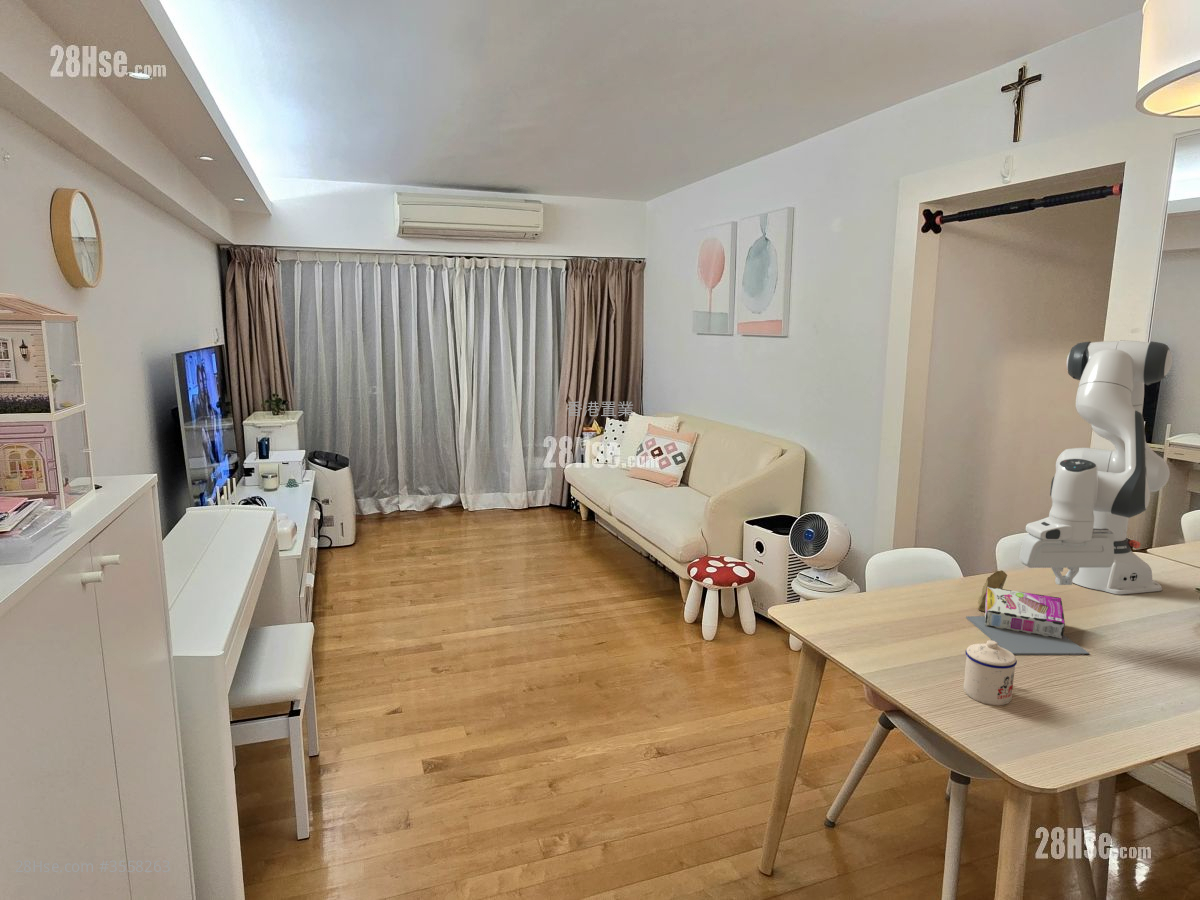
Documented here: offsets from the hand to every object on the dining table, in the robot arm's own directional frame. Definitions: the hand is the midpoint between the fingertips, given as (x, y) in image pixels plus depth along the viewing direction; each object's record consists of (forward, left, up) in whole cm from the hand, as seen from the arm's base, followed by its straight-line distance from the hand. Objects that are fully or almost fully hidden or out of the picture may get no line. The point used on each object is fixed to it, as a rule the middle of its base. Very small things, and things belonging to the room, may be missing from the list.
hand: (1063, 584), depth 165 cm
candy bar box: (-2, -1, -9) cm, 9 cm away
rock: (+8, -18, -13) cm, 24 cm away
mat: (+8, 0, -13) cm, 15 cm away
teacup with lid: (+30, +26, -13) cm, 42 cm away
